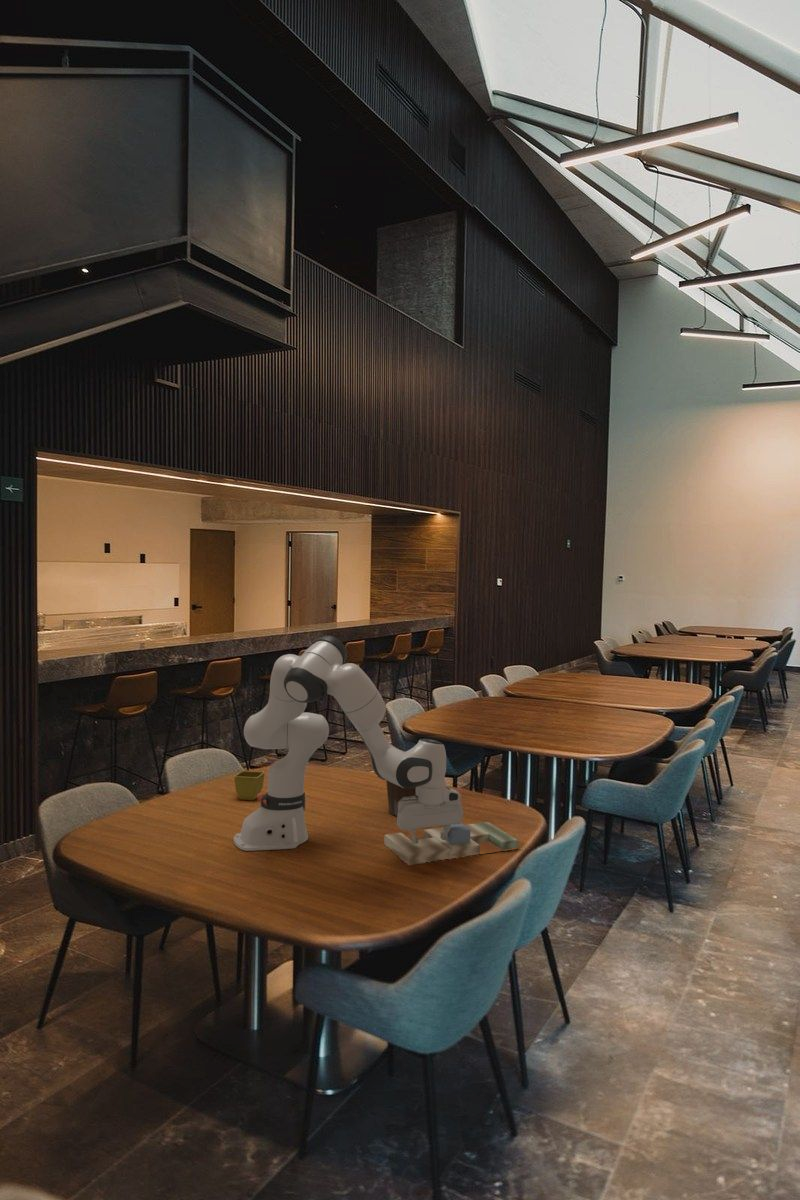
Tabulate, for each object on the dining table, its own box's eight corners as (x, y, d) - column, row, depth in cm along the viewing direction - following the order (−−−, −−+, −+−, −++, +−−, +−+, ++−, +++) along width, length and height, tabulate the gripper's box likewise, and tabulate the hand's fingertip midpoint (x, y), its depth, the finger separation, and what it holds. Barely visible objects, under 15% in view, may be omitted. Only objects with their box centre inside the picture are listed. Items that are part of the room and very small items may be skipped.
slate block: (452, 845, 223) (452, 831, 223) (443, 838, 229) (443, 825, 229) (470, 843, 226) (470, 829, 226) (460, 836, 231) (461, 823, 231)
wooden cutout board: (408, 865, 215) (408, 854, 215) (384, 844, 232) (384, 834, 232) (517, 849, 230) (517, 839, 229) (487, 831, 246) (487, 821, 246)
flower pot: (241, 794, 281) (242, 770, 281) (264, 795, 280) (265, 771, 280) (233, 801, 273) (233, 776, 272) (256, 802, 272) (257, 777, 271)
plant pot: (374, 815, 260) (375, 768, 259) (392, 803, 275) (393, 758, 274) (419, 822, 254) (420, 774, 253) (435, 809, 269) (436, 763, 268)
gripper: (402, 800, 216) (401, 849, 216) (466, 793, 224) (464, 840, 225) (393, 794, 222) (392, 841, 222) (456, 788, 230) (455, 833, 230)
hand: (429, 841), depth 223 cm, fingers open, 8 cm apart
